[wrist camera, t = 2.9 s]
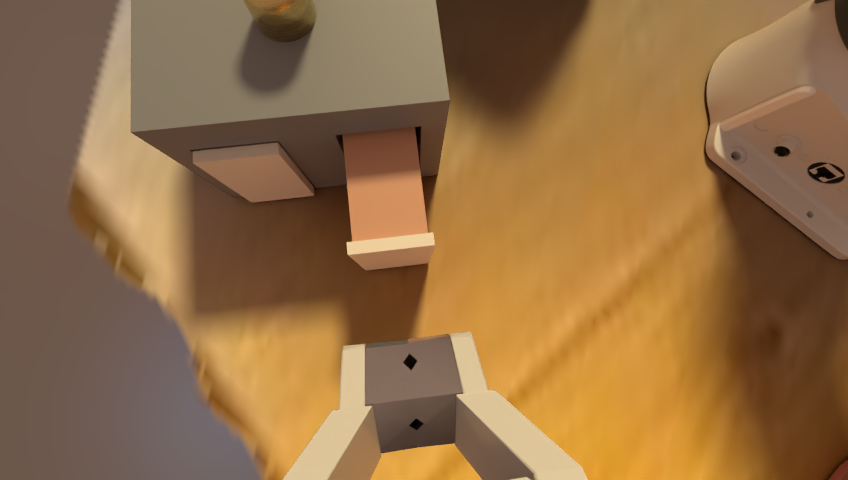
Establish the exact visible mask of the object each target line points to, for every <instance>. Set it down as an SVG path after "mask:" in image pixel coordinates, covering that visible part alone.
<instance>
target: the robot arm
mask: <svg viewBox="0 0 848 480" xmlns="http://www.w3.org/2000/svg"><path fill="white" fill-rule="evenodd" d="M707 104H708V110H709V115H710V128H709V132H708V136H707V141H706V153H707V155H708V157H709V158H710V159H711V160H712V161H713V162H714V163H715V164H717V165H718V166H719V167H720V168H722V169H723V170H724V171H725V172H727V173H728V174H729V175H731V176H732V177H733V178H734V179H736V180H737V181H738V182H739V183H741V184H742V185H743V186H744V187H746V188H747V189H748V190H750V191H751V192H752V193H753V194H755V195H756V196H757V197H758V198H760V199H761V200H762V201H764V202H765V203H766V204H767V205H769V206H770V207H771V208H772V209H774V210H775V211H776V212H777V213H779V214H780V215H781V216H783V217H784V218H785V219H786V220H788V221H789V222H790V223H791V224H793V225H794V226H795V227H797V228H798V229H799V230H800V231H802V232H803V233H804V234H805V235H807V236H808V237H809V238H810V239H812V240H813V241H814V242H816V243H817V244H818V245H819V246H821V247H822V248H823V249H825V250H826V251H827V252H828V253H830V254H831V255H833V256H834V257H836V258H838V259H842V260H844V259H848V0H809V1H808V2H806V3H805V4H803V5H801V6H800V7H798V8H797V9H795V10H794V11H792V12H790V13H789V14H787V15H785V16H784V17H782V18H780V19H779V20H777V21H775V22H774V23H772V24H770V25H768V26H766V27H765V28H763V29H761V30H759V31H757V32H755V33H752V34H750V35H748V36H746V37H743V38H741V39H739V40H737V41H735V42H733V43H732V44H731V45H729V46H728V47H727V48H726V49H725V50H724V51H722V53H721V54H720V55H719V56H718V58H717V59H716V61H715V62H714V64H713V66H712V68H711V71H710V74H709V77H708V81H707ZM731 155H732V156H733V157H734V159H735V160H734V159H733V158H732V157H731ZM453 443H455V445H456V447H457V448H458V449H459V450H460V452H461V453H462V454H463V455H464V457H465V458H466V459H467V461H468V462H469V463H470V464H471V466H472V467H473V468H474V469H475V471H476V472H477V473H478V474H479V476H480V477H481V478H482V479H483V480H587V477H586V475H585V473H584V470H583V468H582V467H581V466H580V465H579V464H578V463H577V462H576V461H575V460H573V459H572V458H571V457H570V456H569V455H568V454H567V453H566V452H564V451H563V450H562V449H561V448H560V447H559V446H558V445H557V444H555V443H554V442H553V441H552V440H551V439H550V438H549V437H548V436H546V435H545V434H544V433H543V432H542V431H541V430H540V429H539V428H537V427H536V426H535V425H534V424H533V423H532V422H531V421H530V420H528V419H527V418H526V417H525V416H524V415H523V414H522V413H521V412H519V411H518V410H517V409H516V408H515V407H514V406H513V405H512V404H510V403H509V402H508V401H507V400H506V399H505V398H504V397H503V396H501V395H500V394H499V393H498V392H497V391H496V390H488V387H487V383H486V380H485V377H484V373H483V370H482V366H481V363H480V360H479V356H478V353H477V349H476V346H475V343H474V339H473V336H472V334H471V333H470V332H462V333H454V334H449V335H448V334H443V335H435V336H428V337H420V338H412V339H407V340H398V341H387V342H376V343H366V344H357V345H347V346H344V347H343V350H342V359H341V377H340V394H339V410H332V411H331V413H330V414H329V415H328V417H327V418H326V420H325V421H324V422H323V424H322V425H321V427H320V428H319V429H318V431H317V432H316V434H315V435H314V436H313V438H312V439H311V441H310V442H309V443H308V445H307V446H306V448H305V449H304V450H303V452H302V453H301V455H300V456H299V457H298V459H297V460H296V462H295V463H294V464H293V466H292V467H291V469H290V470H289V471H288V473H287V474H286V476H285V477H284V478H283V480H370V479H371V476H372V474H373V472H374V470H375V468H376V466H377V464H378V462H379V460H380V458H381V453H387V452H393V451H399V450H405V449H411V448H417V447H425V446H435V445H444V444H453Z"/></svg>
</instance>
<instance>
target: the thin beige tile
mask: <svg viewBox="0 0 848 480" xmlns="http://www.w3.org/2000/svg"><path fill="white" fill-rule="evenodd" d="M193 164H195V165H196V166H198V167H199V168H201V169H202V170H204V171H205V172H207V173H208V174H210V175H211V176H213V177H214V178H216V179H217V180H219V181H220V182H222V183H223V184H225V185H226V186H228V187H229V188H231V189H232V190H234V191H235V192H237V193H238V194H240V195H241V196H242V197H244V198H245V199H247V200H248V201H250V202H251V203H252V202H261V201H271V200H280V199H289V198H298V197H307V196H314V187H313V185H312V184H311V183H310V180H309V179H308V178H307V176H306V175H305V174H304V172H303V171H302V170H301V169H300V167H299V166H298V165H297V164H296V162H295V161H294V160H293V159H292V157H291V156H290V155H289V154H288V152H287V151H286V150H285V149H284V147H283V146H282V145H281V144H280V142H279V141H274V142H265V143H255V144H245V145H235V146H226V147H216V148H206V149H201V150H200V151H193Z"/></svg>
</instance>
